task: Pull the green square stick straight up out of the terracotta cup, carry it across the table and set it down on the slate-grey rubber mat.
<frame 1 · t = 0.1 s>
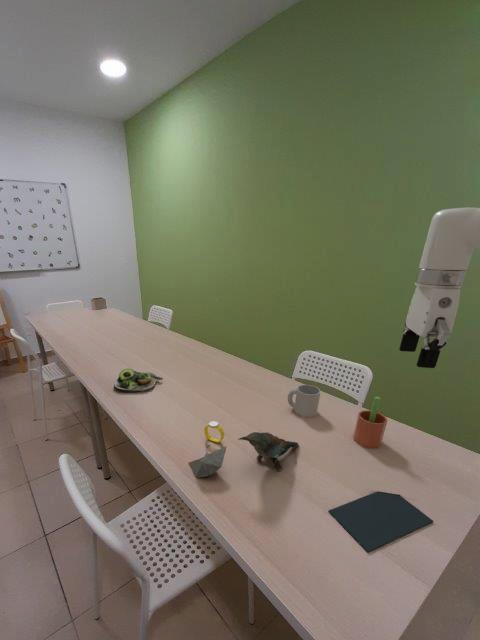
hand: (415, 358, 66), 30 cm above the table, tool pointing down, fingers open, 9 cm apart
green square stick: (366, 440, 86), point 1 cm above the table, touching tumbler
cup: (300, 412, 102), on the table
gold diamond ring: (214, 441, 89), on the table
paper boat: (209, 469, 78), on the table
mat: (379, 516, 64), on the table
salad plate: (135, 383, 126), on the table
tumbler: (366, 442, 87), on the table
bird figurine: (269, 460, 81), on the table
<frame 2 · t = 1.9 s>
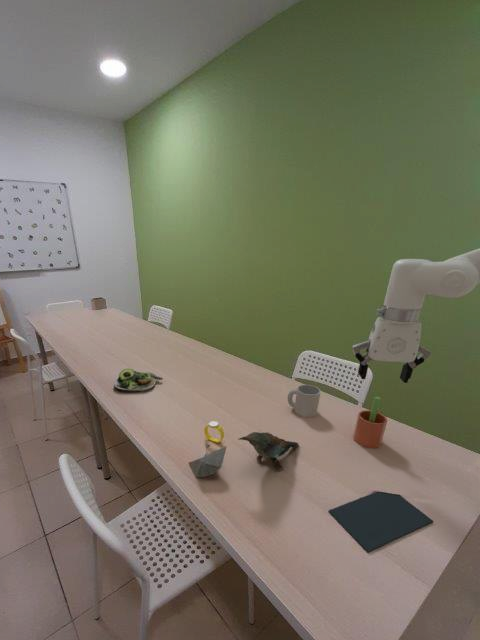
hand: (382, 378, 78), 20 cm above the table, tool pointing down, fingers open, 9 cm apart
nothing on the table moved.
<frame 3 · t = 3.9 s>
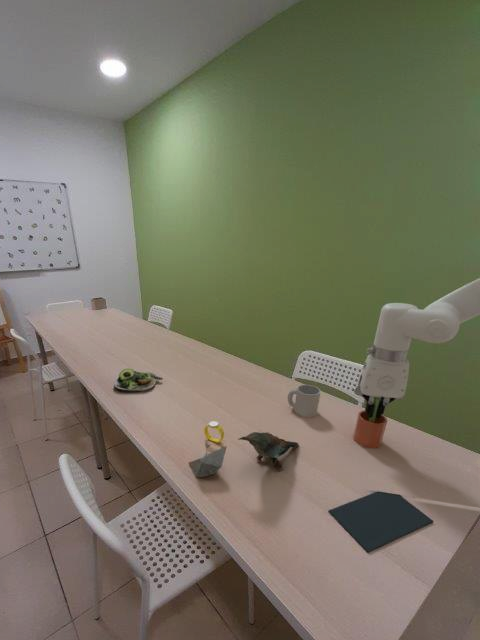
hand: (373, 415, 83), 9 cm above the table, tool pointing down, fingers closed on green square stick, 1 cm apart
green square stick: (366, 440, 86), point 1 cm above the table, touching gripper, tumbler
everything else where it was.
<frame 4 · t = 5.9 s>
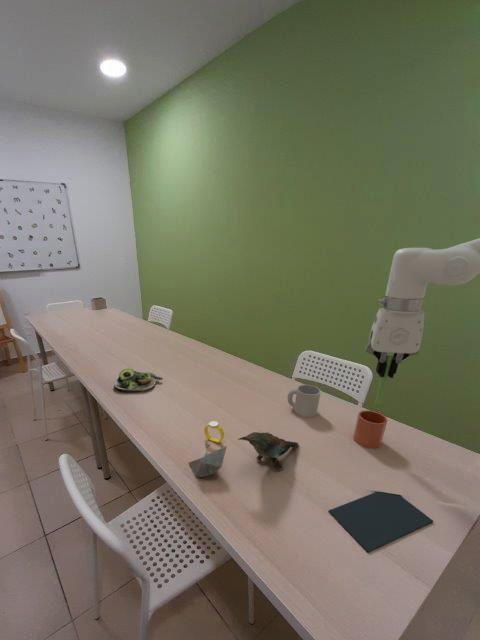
hand: (384, 375, 77), 22 cm above the table, tool pointing down, fingers closed on green square stick, 1 cm apart
green square stick: (377, 403, 81), point 13 cm above the table, touching gripper
everything else where it was.
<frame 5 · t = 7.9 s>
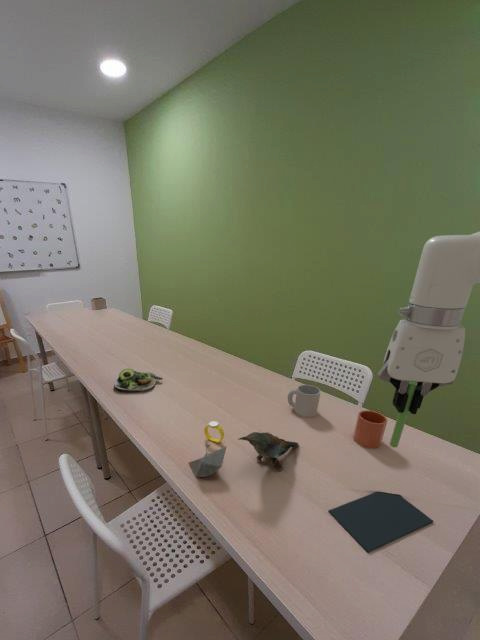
hand: (404, 409, 58), 24 cm above the table, tool pointing down, fingers closed on green square stick, 1 cm apart
green square stick: (393, 445, 61), point 16 cm above the table, touching gripper
everything else where it was.
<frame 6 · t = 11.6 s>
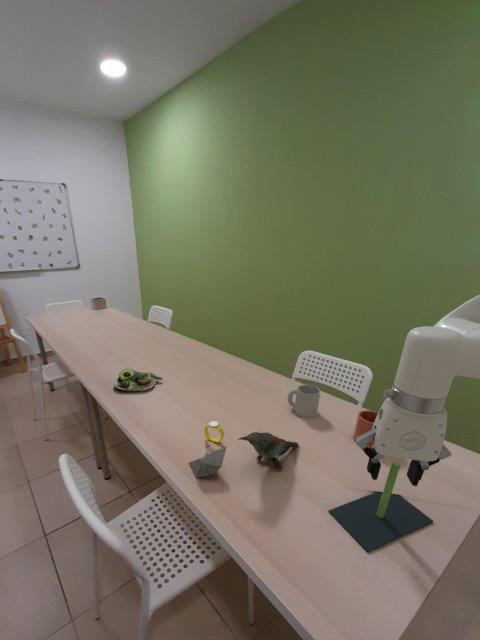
hand: (391, 477, 59), 11 cm above the table, tool pointing down, fingers open, 6 cm apart
green square stick: (380, 515, 63), resting on mat
everything else where it was.
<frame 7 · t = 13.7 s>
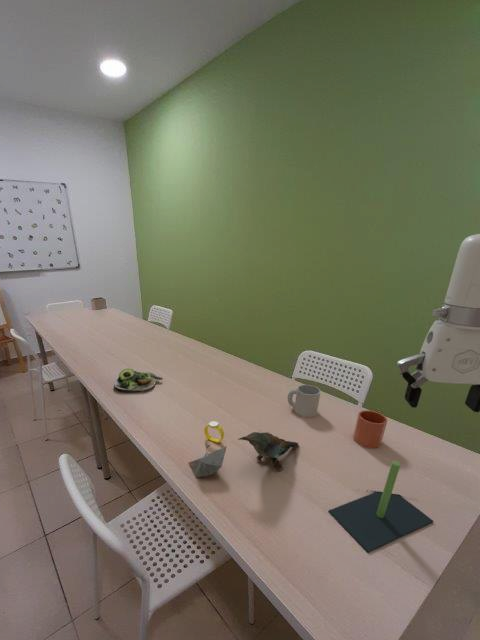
hand: (440, 406, 56), 25 cm above the table, tool pointing down, fingers open, 9 cm apart
nothing on the table moved.
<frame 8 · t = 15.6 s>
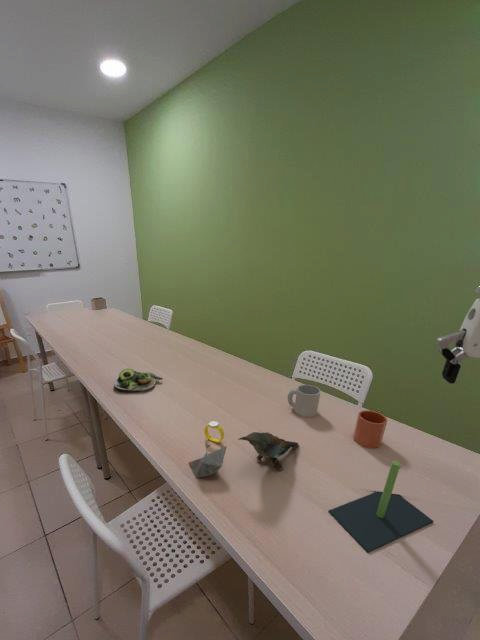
hand: (477, 382, 58), 28 cm above the table, tool pointing down, fingers open, 9 cm apart
nothing on the table moved.
at the end: green square stick inside the target area on the mat (0.0 cm from its centre), point 0.4 cm above the mat's base; green square stick touching mat; the gripper is holding nothing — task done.
